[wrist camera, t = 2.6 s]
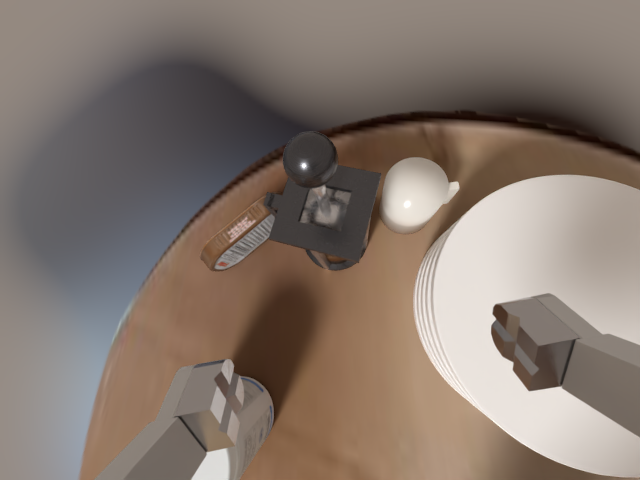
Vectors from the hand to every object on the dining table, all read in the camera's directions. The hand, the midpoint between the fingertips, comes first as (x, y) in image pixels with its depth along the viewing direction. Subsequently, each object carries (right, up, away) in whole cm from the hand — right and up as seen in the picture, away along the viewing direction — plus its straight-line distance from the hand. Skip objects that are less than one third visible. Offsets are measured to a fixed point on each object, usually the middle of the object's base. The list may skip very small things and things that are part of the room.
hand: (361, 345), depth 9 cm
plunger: (0, +6, +23) cm, 24 cm away
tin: (-11, +3, +37) cm, 39 cm away
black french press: (0, +4, +35) cm, 36 cm away
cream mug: (+12, +8, +35) cm, 38 cm away
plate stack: (+26, -6, +30) cm, 40 cm away
